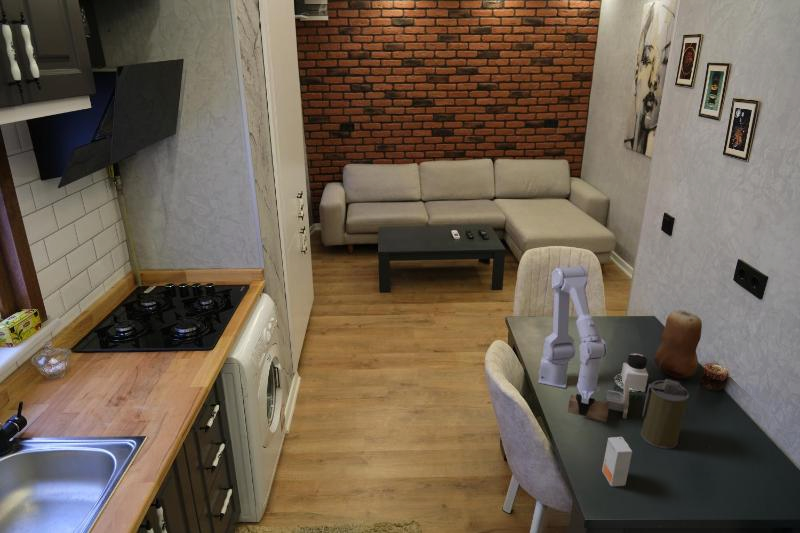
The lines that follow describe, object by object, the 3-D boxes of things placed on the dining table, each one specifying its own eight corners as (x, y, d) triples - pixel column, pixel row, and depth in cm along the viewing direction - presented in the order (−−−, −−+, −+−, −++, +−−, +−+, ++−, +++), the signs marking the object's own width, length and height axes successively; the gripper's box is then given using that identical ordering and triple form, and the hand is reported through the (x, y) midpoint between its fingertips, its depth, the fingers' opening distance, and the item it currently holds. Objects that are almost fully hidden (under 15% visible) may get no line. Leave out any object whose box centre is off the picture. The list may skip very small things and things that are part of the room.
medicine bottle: (645, 392, 187) (651, 363, 182) (623, 390, 188) (629, 360, 184) (640, 381, 193) (646, 352, 189) (620, 379, 195) (625, 350, 190)
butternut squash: (689, 368, 202) (704, 308, 192) (697, 388, 190) (713, 325, 180) (649, 362, 205) (662, 303, 196) (655, 381, 193) (668, 319, 184)
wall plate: (622, 418, 174) (625, 402, 171) (622, 394, 186) (625, 379, 183) (625, 418, 173) (629, 403, 171) (625, 395, 185) (628, 380, 183)
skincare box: (601, 471, 151) (607, 436, 147) (615, 470, 152) (622, 436, 147) (610, 487, 146) (617, 452, 141) (625, 486, 146) (633, 451, 142)
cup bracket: (605, 407, 179) (607, 400, 177) (606, 396, 184) (607, 389, 183) (622, 411, 177) (624, 404, 176) (622, 400, 182) (624, 392, 181)
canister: (675, 430, 168) (688, 376, 161) (679, 452, 159) (693, 395, 151) (637, 423, 171) (649, 369, 164) (640, 444, 162) (652, 388, 155)
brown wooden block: (567, 412, 176) (569, 400, 175) (569, 407, 179) (571, 394, 177) (606, 422, 172) (608, 409, 170) (607, 416, 175) (609, 403, 173)
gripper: (601, 389, 163) (595, 425, 168) (602, 365, 175) (597, 399, 180) (577, 384, 165) (571, 420, 170) (580, 360, 178) (575, 395, 183)
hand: (583, 409), depth 175 cm, fingers open, 5 cm apart
